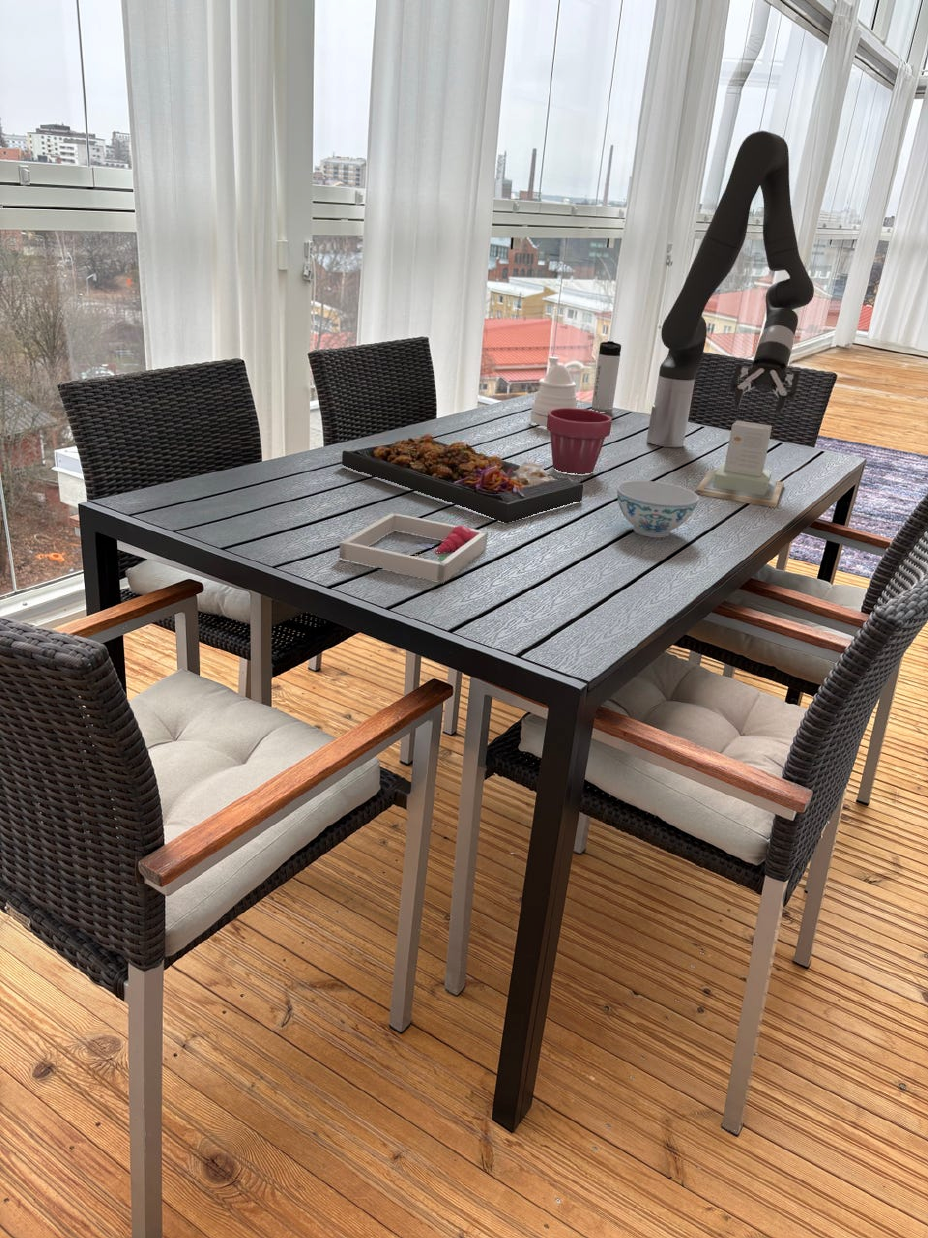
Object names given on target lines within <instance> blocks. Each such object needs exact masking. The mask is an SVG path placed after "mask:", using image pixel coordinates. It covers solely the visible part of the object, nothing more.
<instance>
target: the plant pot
mask: <svg viewBox="0 0 928 1238" xmlns="http://www.w3.org/2000/svg"><path fill="white" fill-rule="evenodd" d="M612 421H613V420H612V417H611V416H610V415H607V414H603V413H600V412H596V411H592V410H591V409H584V408H579V409H575V408H560V409H553V410H551V411H549V412H548V419H547V429H548V430H547V431H549V435H550V436H549V439H550V449H551V452H550V453H551V459H552V460H551V461H552V469H553V468H554V469H556V470H558V471H561V472H567V473H575V474H576V473H577V474H585V473H591V472H593V473H594V470H595V467H596V464H597V462H598V459H599V456H600V454H601V451H602V448H603V446H604V443H605V439H606V438H607V437H609V436H610V434H611V429H612ZM554 469H553V470H554Z"/></svg>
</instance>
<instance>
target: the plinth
mask: <svg viewBox="0 0 928 1238" xmlns="http://www.w3.org/2000/svg"><path fill="white" fill-rule="evenodd" d="M724 467H725V462H721V464H720V466H719V467H718V469H717V470H716V471H717V472H716V474H715V478H714V483H713V487H718V488H724V489H730V490H736V491H741V492H747V493H753V494H758V495H765V492H766V490H767V487H768V485H769V482H770V480H771V476H772V472H773V471H772V470H768V469H763V472H762V473H761V475H760V476H759V477H758V476H752V475H746V474H740V473H734V472H728V471H724Z"/></svg>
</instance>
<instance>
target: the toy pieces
mask: <svg viewBox="0 0 928 1238" xmlns="http://www.w3.org/2000/svg"><path fill="white" fill-rule="evenodd" d="M457 526H458V527H455V528H454V529H453V530H452V532H451V534H449V535H448V536H447V538H446V539H445V540H444V541H443V542H441V543H440V544H439V545H438V546H439V547H438V549H437V550H435V551H433V553H434V552H435V553H436V552H438V553H439V552H440V553H439V554H442V553H441V552H445V553H450V552H452V551H457V550H458V549H459V548H461V547H462V546H463V545H465V542H464V540H465V541H470V540H471V539H472V538H474V537H475V535H474V534H473V532H472V531H471V530H470V529H471V528H470V529H469V527H467V526H464V525H457ZM420 543H421V544H419V545H420V546H424V547H426V548H432V547H434V545H432V544H431V543H432V542H420ZM413 554H414V553H413ZM413 554H412V555H413ZM414 555H415V556H416V555H417V556H420V554H419V555H418V554H414ZM420 557H421V556H420ZM438 557H439V561H443V560H445V559H446V558H447V557H448V556H438Z"/></svg>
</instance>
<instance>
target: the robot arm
mask: <svg viewBox="0 0 928 1238" xmlns="http://www.w3.org/2000/svg"><path fill="white" fill-rule="evenodd" d="M789 154H790V153H789V147H788V143H787V142H786V140H785V139H784V138H783V137H781V136H780V135H778V134H776V133H773V132H770V131H766V130H755V131H753V132H751V133H750V134H749V135H747V136H746V137H745V138H744V140H743V141H742V143H741V144H740V147H739V148H738V151H737V153H736V156H735V159H734V163H733V165H732V168H731V171H730V174H729V178H728V181H727V183H726V186H725V189H724V192H723V193H722V195H721V196H722V197H721V198H720V201H719V202H718V205H717V207H716V208H715V211H714V213H713V217H712V219H711V221H710V223H709V225H708V228H707V230H706V231H705V234H704V235H703V238H702V240H701V242H700V245H699V247H698V250H697V253H696V254H695V257H694V260H693V262H692V265H691V267H690V269H689V271H688V274H687V276H686V279H685V282H684V283H683V286H682V289H681V290H680V292H679V294H678V296H677V298H676V300H675V301H674V303H673V305H672V307H671V309H670V310H669V312H668V314H667V316H666V317H665V319H664V322H663V323H662V324H663V325H662V326H661V327H662V328H661V335H660V336H661V341H662V343H663V345H664V346H665V347H666V348H667V349H668V352H667V355H666V356H665V359H664V361H663V362H662V363H661V364H660V366H659V371H658V379H657V383H656V390H655V396H654V405H652V406H651V411H650V417H649V423H648V429H647V430H648V431H647V436H646V443H648V444H653V445H654V444H655V446H658V445H659V447H665V448H681V447H684V443H685V439H686V432H687V427H688V422H689V418H690V417H689V416H690V411H691V405H692V399H693V394H694V387H695V381H696V376H697V373H698V371H699V369H700V366H701V362H702V359H703V355H704V350H705V345H706V341H707V334H708V333H707V332H708V331H707V330H708V327H707V323H706V320H705V319H704V317H703V316H702V315H703V313H704V311H705V308H706V306H707V304H708V302H709V301H710V299H711V297H712V296H713V295H714V293H715V292H716V290H717V289H718V288H719V287H720V286H721V284H722V283H723V281H724V280H725V279H726V277H727V276H728V275H729V273H730V272H731V270H732V268H733V267H734V265H735V263H736V261H737V260H738V259H737V258H738V256H739V254H740V252H741V250H742V248H743V245H744V242H745V240H746V236H747V231H748V226H749V220H750V213H751V212H750V211H751V207H752V204H753V201H754V198H755V196H756V194H757V192H758V190H759V188H760V190H761V193H762V201H763V218H762V220H763V221H762V239H763V246H764V250H765V251H764V253H765V257H766V261H767V266H768V268H769V270H770V271H771V272H782V271H785V272H786V273H787V274H788V276H789V278H787V279H783V280H781V281H778V282H776V283H773V284H771V286H770V287H769V288H768V289H767V291H766V293H765V310H766V312H765V313H766V314H765V316H766V320H765V323H764V327H763V329H762V333H761V335H760V337H759V339H758V343H757V347H756V350H755V353H754V358H753V360H752V363H751V366H750V367H749V368H748V367H743V365H742V364H740V363H739V364H737V365H736V368H735V369H734V372H733V375H732V378H731V381H730V384H729V392H731V393H735V394H734V399H733V405H734V407H735V409H740V406H741V404H742V399H743V396H744V394H746V392H750V391H752V390H753V389H754V388H755V390H764V391H767V392H771V391H773V393H774V394H775V396H777V398H778V400H777V403H776V408H775V410H774V411H775V412H774V415H776V416H778V415H779V414H782V412H783V411H784V406H785V403H786V402H787V401H790V402H794V401H795V400H796V395H797V394H796V393H797V389H798V384H799V377H800V373H798V372H794V373H793V374H788V373H787V369H788V364H789V362H790V358H791V355H792V353H793V352H792V350H793V347H794V338H795V335H796V331H797V328H798V323H799V316H798V314H797V312H795V311H794V310H795V309H796V310H797V309H798V308H799V309H800V308H802V307H805V306H807V305H809V304H811V301H812V300H813V298H814V294H815V288H814V287H815V286H814V284H813V280H812V279H811V277H810V275H809V273H808V271H807V269H806V267H805V265H804V263H803V261H802V258H801V256H800V253H799V246H798V240H797V236H796V235H797V234H796V228H795V224H794V217H793V213H792V203H791V201H792V200H791V191H790V190H791V189H790V155H789ZM745 375H747V377H746V378H745V380H744V381H743V382H741V383H739V381H740V379H742V378H743V377H744V376H745ZM785 381H787V382H788V385H789V386H791V387H790V391H786V388H785V387H784V384H783V383H785Z"/></svg>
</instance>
